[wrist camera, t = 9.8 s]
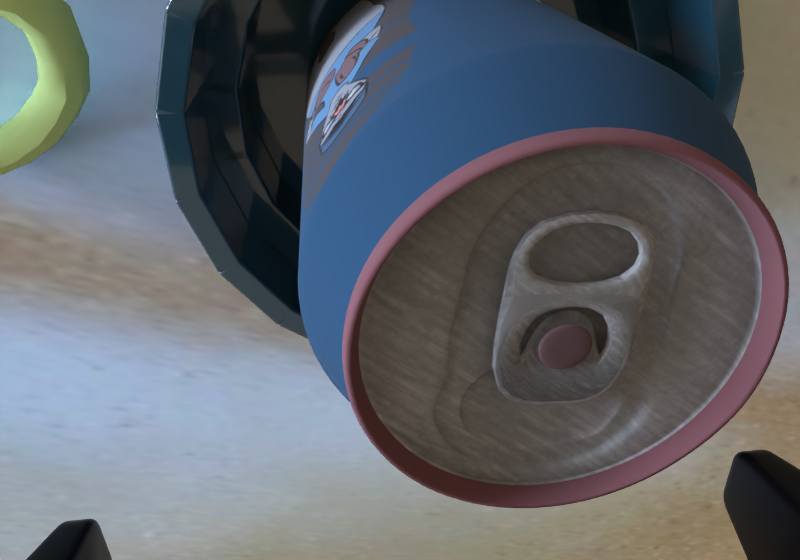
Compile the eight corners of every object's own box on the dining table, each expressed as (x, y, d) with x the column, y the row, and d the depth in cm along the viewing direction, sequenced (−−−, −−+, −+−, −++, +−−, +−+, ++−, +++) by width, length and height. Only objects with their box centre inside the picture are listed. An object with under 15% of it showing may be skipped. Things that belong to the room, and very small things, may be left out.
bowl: (728, -99, 18) (861, -93, 13) (547, 305, 24) (598, 398, 19) (235, -279, 15) (201, -346, 10) (170, 232, 21) (131, 323, 16)
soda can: (529, 213, 21) (734, 530, 11) (306, 208, 20) (294, 548, 10) (575, -30, 17) (944, 92, 7) (307, -49, 17) (289, 58, 6)
